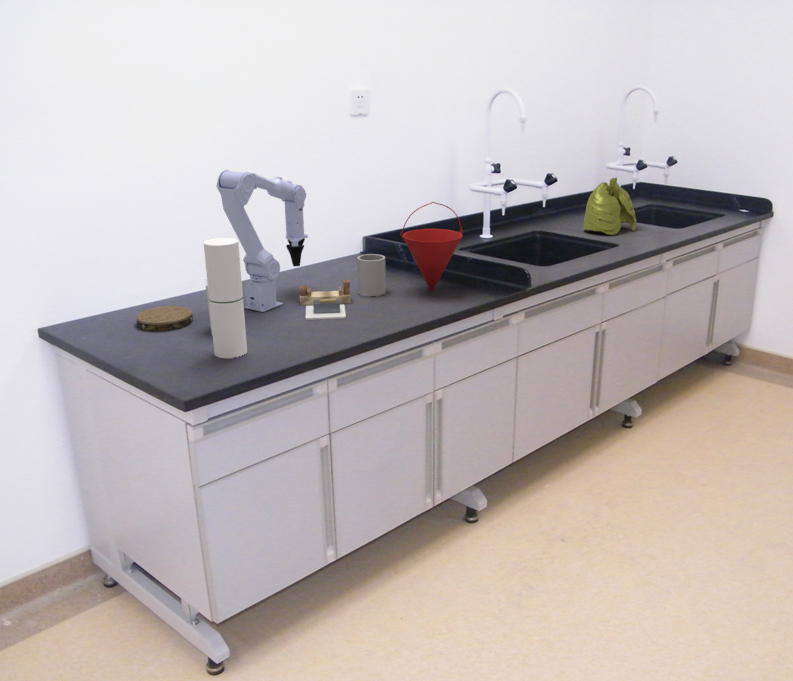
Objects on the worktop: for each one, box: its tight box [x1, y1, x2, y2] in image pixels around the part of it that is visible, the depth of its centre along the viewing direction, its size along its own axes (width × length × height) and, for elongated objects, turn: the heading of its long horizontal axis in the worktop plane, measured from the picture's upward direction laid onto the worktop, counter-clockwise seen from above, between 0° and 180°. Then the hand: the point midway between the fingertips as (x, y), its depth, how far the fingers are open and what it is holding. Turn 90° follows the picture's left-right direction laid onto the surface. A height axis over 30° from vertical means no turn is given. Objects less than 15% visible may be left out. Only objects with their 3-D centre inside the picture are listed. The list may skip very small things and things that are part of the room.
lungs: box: [582, 177, 637, 236], centre depth 335 cm, size 25×16×24 cm, turn 125°
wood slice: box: [136, 305, 194, 333], centre depth 224 cm, size 16×16×3 cm
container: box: [203, 237, 248, 359], centre depth 196 cm, size 9×9×30 cm
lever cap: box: [312, 299, 341, 314], centre depth 231 cm, size 8×4×4 cm, turn 95°
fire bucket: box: [399, 201, 464, 292], centre depth 248 cm, size 22×20×30 cm
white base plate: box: [305, 304, 347, 321], centre depth 232 cm, size 12×12×1 cm
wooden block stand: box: [298, 279, 352, 306], centre depth 242 cm, size 16×6×6 cm, turn 95°
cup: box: [356, 253, 387, 297], centre depth 250 cm, size 9×9×12 cm
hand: (296, 263), depth 248 cm, fingers open, 7 cm apart
